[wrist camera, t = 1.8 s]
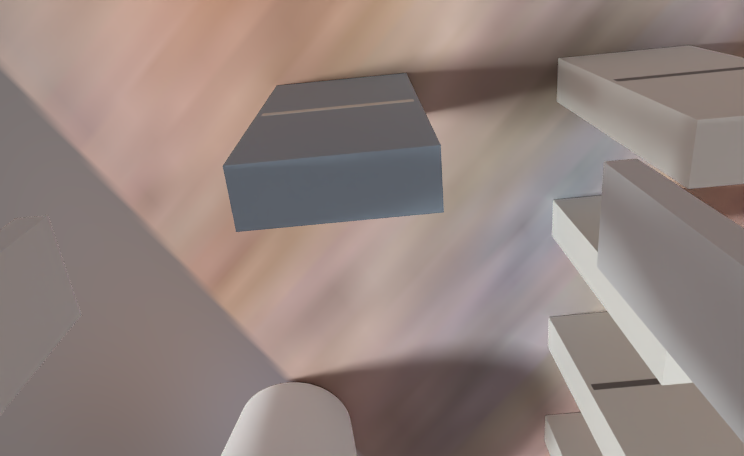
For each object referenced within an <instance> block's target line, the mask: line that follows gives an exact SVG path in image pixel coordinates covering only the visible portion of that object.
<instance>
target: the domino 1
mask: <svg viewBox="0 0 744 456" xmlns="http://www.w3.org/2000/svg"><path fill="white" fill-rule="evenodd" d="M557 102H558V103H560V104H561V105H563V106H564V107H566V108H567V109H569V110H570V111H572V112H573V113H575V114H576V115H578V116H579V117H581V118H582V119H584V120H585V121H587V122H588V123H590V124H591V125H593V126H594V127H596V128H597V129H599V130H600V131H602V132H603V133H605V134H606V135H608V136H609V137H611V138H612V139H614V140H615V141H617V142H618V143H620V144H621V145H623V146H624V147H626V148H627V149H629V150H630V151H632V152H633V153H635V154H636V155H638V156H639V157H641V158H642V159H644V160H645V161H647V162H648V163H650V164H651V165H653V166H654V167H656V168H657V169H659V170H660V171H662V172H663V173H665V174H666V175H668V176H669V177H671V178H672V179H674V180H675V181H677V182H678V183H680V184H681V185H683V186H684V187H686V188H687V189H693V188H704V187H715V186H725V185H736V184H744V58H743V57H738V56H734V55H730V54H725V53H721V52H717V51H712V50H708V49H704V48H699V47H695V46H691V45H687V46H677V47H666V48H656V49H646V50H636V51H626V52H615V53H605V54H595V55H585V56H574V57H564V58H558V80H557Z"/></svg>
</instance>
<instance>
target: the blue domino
mask: <svg viewBox="0 0 744 456" xmlns="http://www.w3.org/2000/svg"><path fill="white" fill-rule="evenodd" d="M223 169H224V174H225V179H226V184H227V189H228V194H229V199H230V204H231V208H232V213H233V218H234V223H235V228H236V232H240V231H251V230H262V229H272V228H283V227H293V226H304V225H315V224H325V223H336V222H346V221H357V220H367V219H378V218H389V217H399V216H410V215H420V214H431V213H442V212H444V208H443V186H442V164H441V145H440V143H439V141H438V138H437V136H436V134H435V132H434V130H433V128H432V126H431V124H430V122H429V120H428V118H427V115H426V113H425V111H424V109H423V107H422V105H421V103H420V101H419V99H418V97H417V95H416V92H415V90H414V88H413V86H412V84H411V82H410V80H409V78H408V76H407V74H406V73H401V74H390V75H380V76H370V77H360V78H350V79H339V80H329V81H319V82H309V83H298V84H288V85H278V86H276V87H275V89H274V90H273V92H272V93H271V95H270V96H269V98H268V99H267V101H266V102H265V104H264V105H263V107H262V108H261V110H260V111H259V113H258V114H257V116H256V117H255V119H254V120H253V122H252V123H251V125H250V126H249V128H248V129H247V131H246V132H245V134H244V135H243V136H242V138H241V139H240V141H239V142H238V144H237V145H236V147H235V148H234V150H233V151H232V153H231V154H230V156H229V157H228V159H227V160H226V162H225V163H224V165H223Z"/></svg>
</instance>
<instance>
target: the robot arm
mask: <svg viewBox="0 0 744 456" xmlns="http://www.w3.org/2000/svg"><path fill="white" fill-rule="evenodd" d="M597 267H598V269H599V270H600V271H601V272H602V273H603V275H604V276H605V277H606V278H607V279H608V281H609V282H610V283H611V284H612V285H613V287H614V288H615V289H616V290H617V291H618V293H619V294H620V295H621V296H622V298H623V299H624V300H625V301H626V302H627V304H628V305H629V306H630V307H631V308H632V310H633V311H634V312H635V313H636V314H637V316H638V317H639V318H640V319H641V320H642V322H643V323H644V324H645V325H646V326H647V328H648V329H649V330H650V331H651V332H652V334H653V335H654V336H655V337H656V338H657V340H658V341H659V342H660V343H661V344H662V346H663V347H664V348H665V349H666V351H667V352H668V353H669V354H670V355H671V357H672V358H673V359H674V360H675V361H676V363H677V364H678V365H679V366H680V367H681V369H682V370H683V371H684V372H685V373H686V375H687V376H688V377H689V378H690V379H691V381H692V382H693V383H694V384H695V385H696V387H697V388H698V389H699V390H700V391H701V393H702V394H703V395H704V396H705V397H706V399H707V400H708V401H709V402H710V403H711V405H712V406H713V407H714V408H715V410H716V411H717V412H718V413H719V414H720V416H721V417H722V418H723V419H724V420H725V422H726V423H727V424H728V425H729V426H730V428H731V429H732V430H733V431H734V432H735V434H736V435H737V436H738V437H739V438H740V440H741V441H742V442H743V443H744V228H743V227H741V226H740V225H738V224H737V223H735V222H733V221H732V220H730V219H729V218H727V217H726V216H724V215H723V214H721V213H720V212H718V211H717V210H715V209H713V208H712V207H710V206H709V205H707V204H706V203H704V202H703V201H701V200H700V199H698V198H697V197H695V196H693V195H692V194H690V193H689V192H687V191H686V190H684V189H683V188H681V187H680V186H678V185H677V184H675V183H673V182H672V181H670V180H669V179H667V178H666V177H664V176H663V175H661V174H660V173H658V172H657V171H655V170H653V169H652V168H650V167H649V166H647V165H646V164H644V163H643V162H641V161H640V160H638V159H628V160H618V161H607V162H604V168H603V183H602V198H601V213H600V228H599V243H598V257H597ZM81 315H82V314H81V311H80V309H79V305H78V302H77V299H76V296H75V294H74V290H73V288H72V284H71V281H70V278H69V275H68V273H67V270H66V267H65V264H64V261H63V258H62V255H61V252H60V249H59V246H58V243H57V240H56V237H55V234H54V231H53V228H52V225H51V222H50V219H49V216H48V215H44V216H34V217H23V218H16V219H15V220H13V221H12V222H10V223H9V224H7V225H6V226H5V227H3V228H2V229H0V416H1V414H2V413H3V412H4V411H5V409H6V408H7V407H8V405H9V404H10V403H11V402H12V401H13V400H14V398H15V397H16V396H17V395H18V393H19V392H20V391H21V390H22V388H23V387H24V386H25V385H26V383H27V382H28V381H29V380H30V378H31V377H32V376H33V375H34V373H35V372H36V371H37V370H38V369H39V367H40V366H41V365H42V364H43V362H44V361H45V360H46V359H47V357H48V356H49V355H50V354H51V352H52V351H53V350H54V349H55V347H56V346H57V345H58V344H59V343H60V341H61V340H62V339H63V338H64V336H65V335H66V334H67V333H68V331H69V330H70V329H71V328H72V326H73V325H74V324H75V323H76V321H77V320H78V319H79V318H80V316H81Z"/></svg>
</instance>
